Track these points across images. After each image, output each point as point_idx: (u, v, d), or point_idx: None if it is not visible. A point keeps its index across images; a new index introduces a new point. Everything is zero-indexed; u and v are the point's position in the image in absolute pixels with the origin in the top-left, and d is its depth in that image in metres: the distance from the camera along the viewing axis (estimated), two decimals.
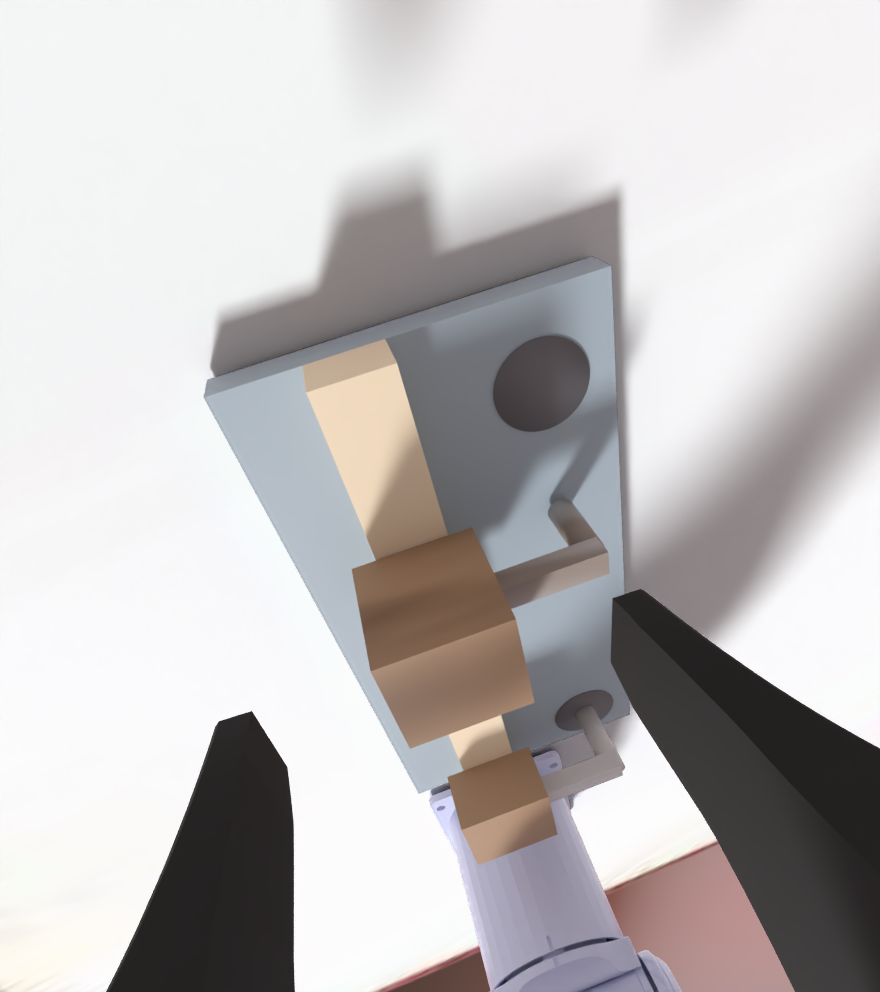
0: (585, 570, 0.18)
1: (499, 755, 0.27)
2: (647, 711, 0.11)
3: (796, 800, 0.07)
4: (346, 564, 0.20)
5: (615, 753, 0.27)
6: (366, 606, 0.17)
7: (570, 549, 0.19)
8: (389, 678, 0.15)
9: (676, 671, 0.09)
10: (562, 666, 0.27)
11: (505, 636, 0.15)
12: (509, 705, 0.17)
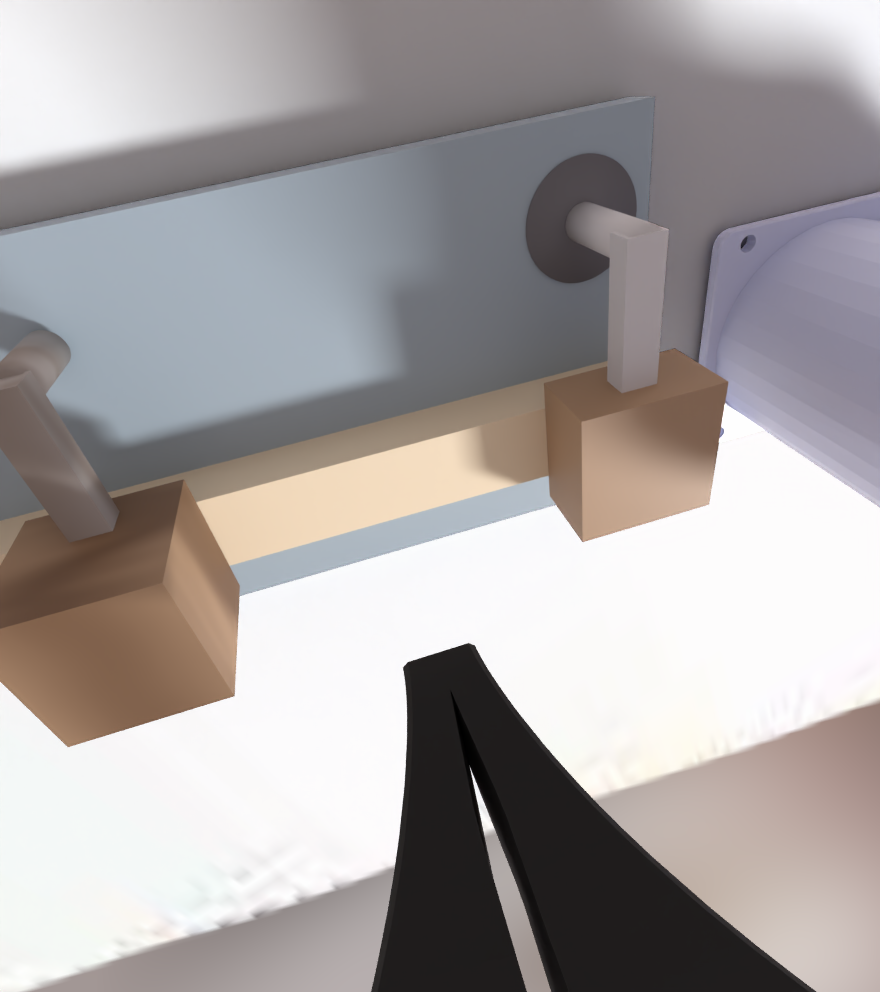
0: (12, 427, 0.12)
1: (541, 427, 0.17)
2: (473, 770, 0.11)
3: (533, 896, 0.07)
4: None
5: (615, 233, 0.13)
6: None
7: None
8: (82, 731, 0.14)
9: (471, 739, 0.09)
10: (432, 286, 0.16)
11: None
12: (162, 612, 0.12)
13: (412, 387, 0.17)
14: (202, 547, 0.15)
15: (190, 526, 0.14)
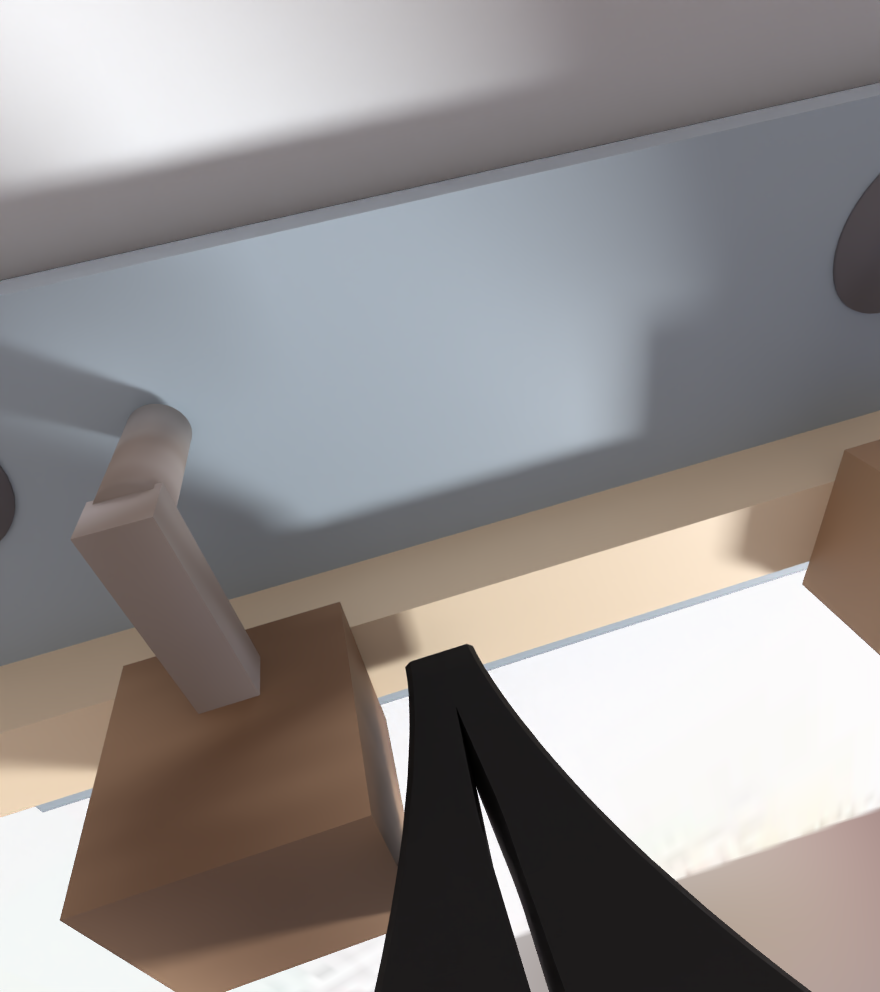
0: (139, 574, 0.07)
1: (821, 505, 0.13)
2: (471, 770, 0.11)
3: (531, 897, 0.07)
4: None
5: None
6: None
7: None
8: (217, 985, 0.09)
9: (469, 740, 0.09)
10: (704, 321, 0.11)
11: (118, 915, 0.07)
12: (361, 847, 0.08)
13: (645, 450, 0.13)
14: (366, 697, 0.11)
15: (357, 674, 0.10)
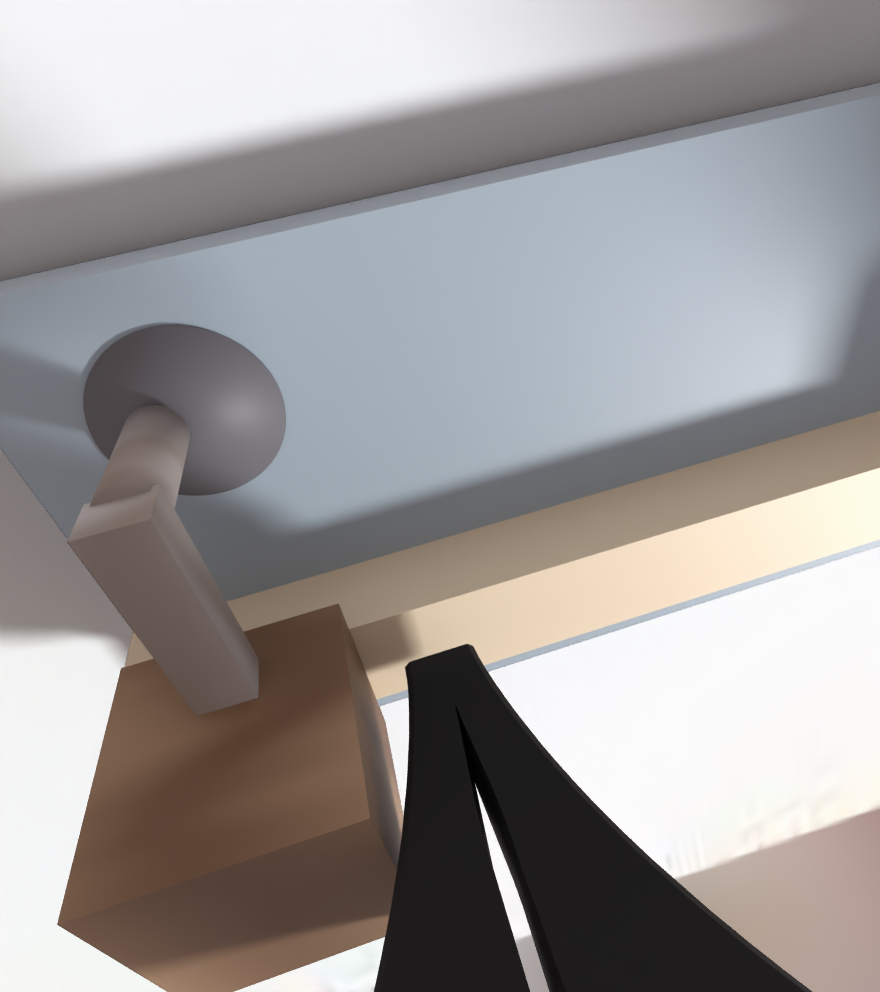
0: (137, 576, 0.07)
1: None
2: (472, 770, 0.11)
3: (532, 897, 0.07)
4: None
5: None
6: None
7: None
8: (215, 989, 0.09)
9: (470, 739, 0.09)
10: None
11: (116, 919, 0.07)
12: (360, 850, 0.08)
13: (835, 396, 0.13)
14: (365, 699, 0.11)
15: (355, 676, 0.10)
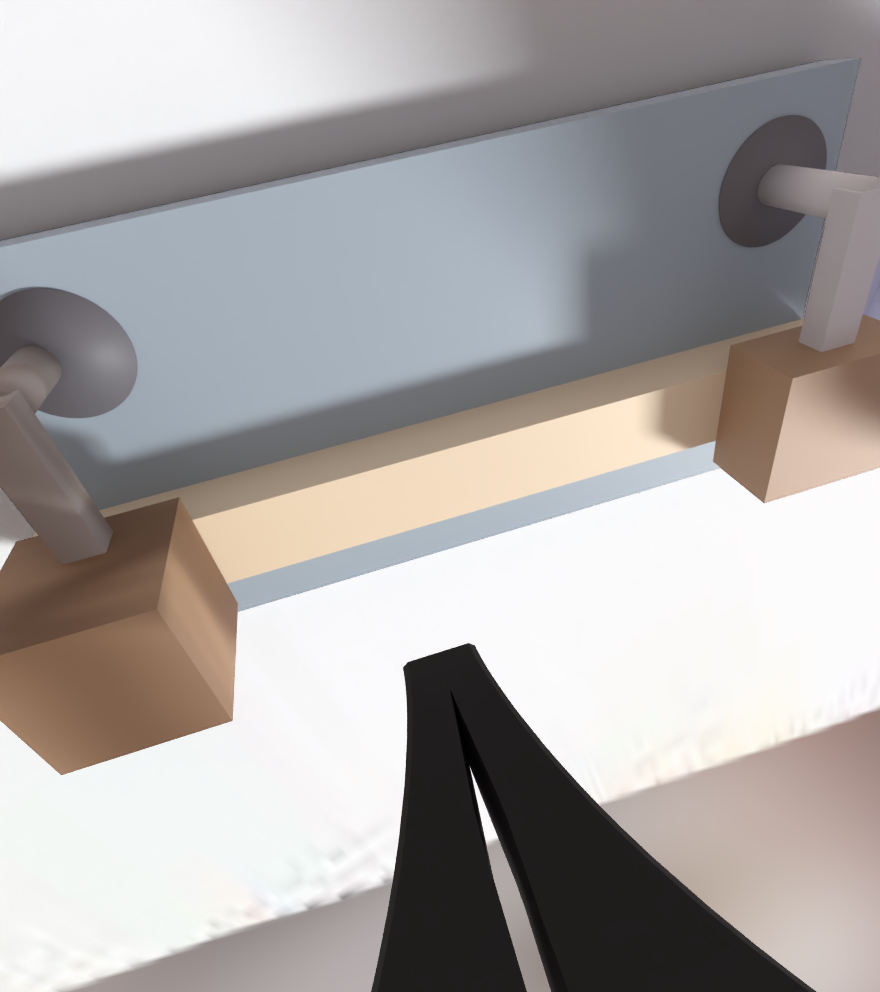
0: (1, 449, 0.11)
1: (719, 391, 0.17)
2: (473, 770, 0.11)
3: (533, 896, 0.07)
4: None
5: (840, 189, 0.13)
6: None
7: None
8: (76, 759, 0.13)
9: (471, 739, 0.09)
10: (625, 249, 0.16)
11: None
12: (157, 638, 0.12)
13: (588, 352, 0.17)
14: (198, 567, 0.14)
15: (186, 546, 0.14)
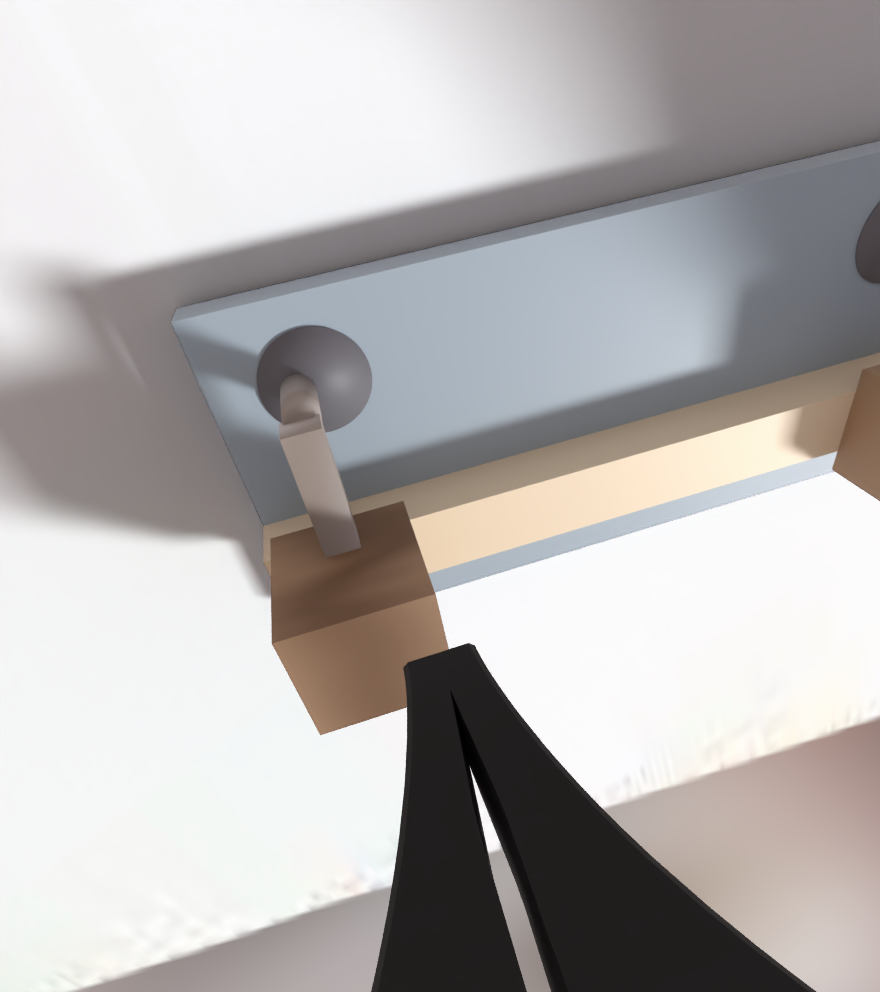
0: (309, 462, 0.14)
1: (846, 408, 0.20)
2: (473, 770, 0.11)
3: (534, 896, 0.07)
4: None
5: None
6: None
7: None
8: (335, 721, 0.16)
9: (471, 739, 0.09)
10: (775, 287, 0.18)
11: (299, 646, 0.14)
12: (427, 618, 0.14)
13: (731, 374, 0.20)
14: None
15: None
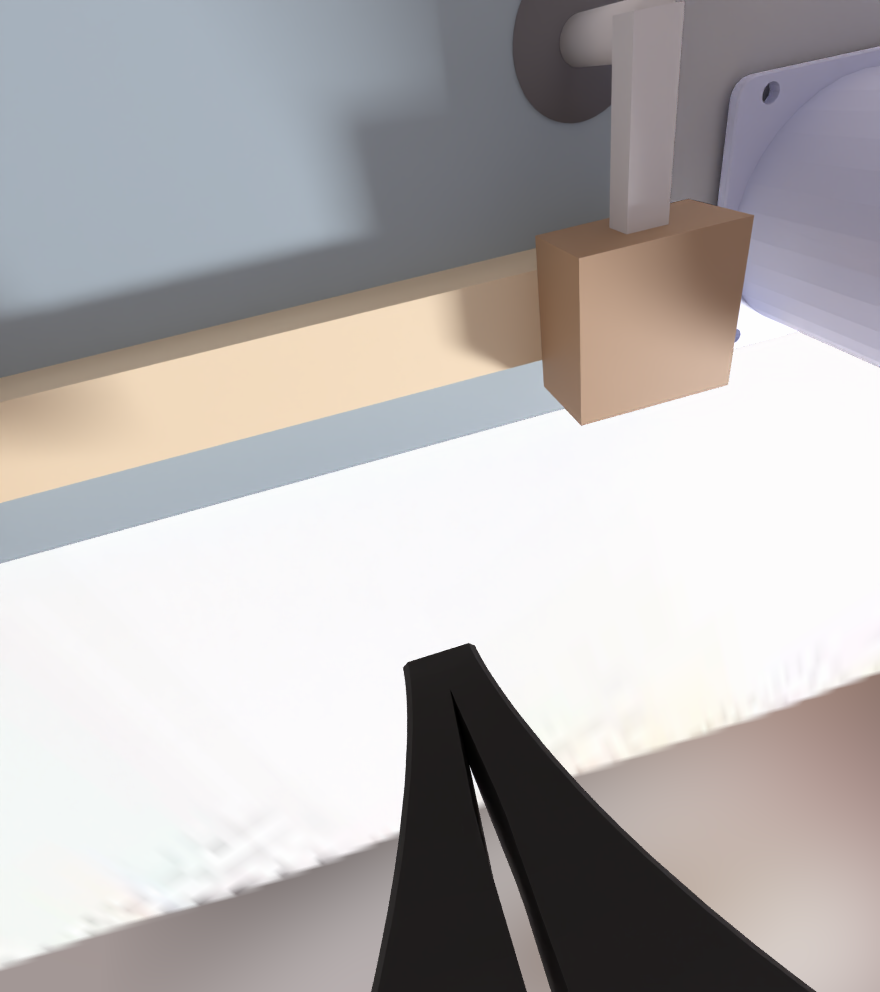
0: None
1: (532, 295, 0.15)
2: (473, 770, 0.11)
3: (533, 896, 0.07)
4: (106, 484, 0.16)
5: (618, 14, 0.11)
6: None
7: None
8: None
9: (471, 739, 0.09)
10: (404, 117, 0.13)
11: None
12: None
13: (383, 251, 0.15)
14: None
15: None
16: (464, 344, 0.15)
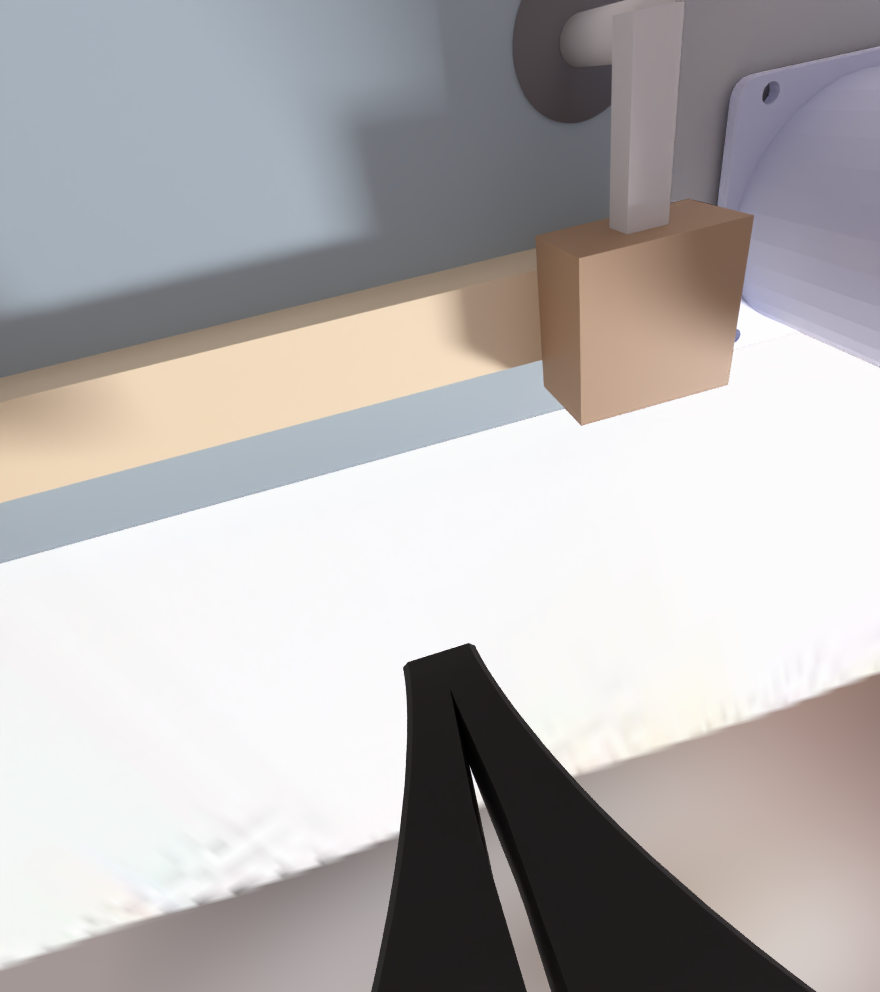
0: None
1: (532, 295, 0.15)
2: (473, 770, 0.11)
3: (533, 896, 0.07)
4: (106, 484, 0.16)
5: (618, 14, 0.11)
6: None
7: None
8: None
9: (471, 739, 0.09)
10: (404, 117, 0.13)
11: None
12: None
13: (383, 251, 0.15)
14: None
15: None
16: (464, 344, 0.15)
